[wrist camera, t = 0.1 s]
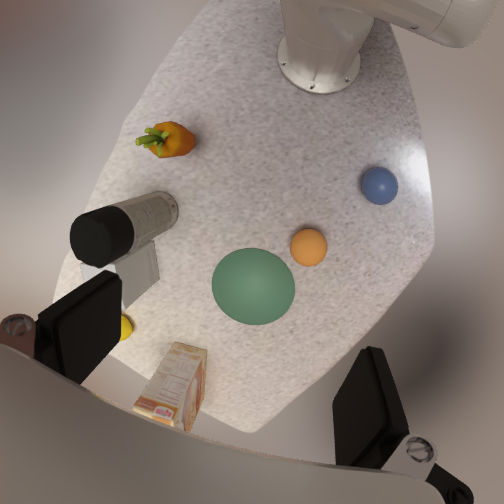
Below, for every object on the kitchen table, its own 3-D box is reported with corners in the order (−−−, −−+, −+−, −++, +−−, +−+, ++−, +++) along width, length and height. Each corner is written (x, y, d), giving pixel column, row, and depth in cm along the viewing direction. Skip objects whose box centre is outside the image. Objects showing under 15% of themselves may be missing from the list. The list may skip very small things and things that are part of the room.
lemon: (135, 312, 56) (126, 326, 51) (137, 334, 58) (129, 349, 53) (105, 307, 56) (94, 320, 51) (108, 328, 58) (98, 342, 53)
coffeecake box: (204, 400, 60) (176, 467, 42) (174, 391, 61) (140, 455, 42) (208, 349, 55) (173, 422, 37) (174, 340, 56) (130, 407, 38)
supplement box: (154, 240, 50) (115, 264, 38) (160, 279, 52) (125, 312, 40) (120, 240, 51) (78, 263, 39) (126, 278, 53) (88, 307, 42)
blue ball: (363, 161, 41) (372, 162, 36) (395, 173, 41) (407, 175, 36) (353, 196, 43) (361, 200, 38) (385, 206, 43) (396, 212, 38)
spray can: (148, 186, 47) (70, 205, 29) (184, 197, 47) (116, 224, 28) (140, 222, 50) (65, 258, 31) (174, 235, 49) (108, 280, 30)
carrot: (210, 131, 43) (172, 121, 29) (201, 161, 45) (160, 164, 31) (182, 124, 44) (135, 113, 29) (173, 153, 45) (124, 154, 31)
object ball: (295, 221, 46) (295, 229, 40) (330, 231, 45) (333, 240, 40) (286, 254, 47) (284, 266, 42) (319, 263, 47) (321, 276, 42)
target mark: (220, 238, 48) (220, 238, 48) (305, 261, 47) (305, 262, 47) (205, 311, 53) (205, 312, 53) (281, 333, 52) (281, 333, 52)
